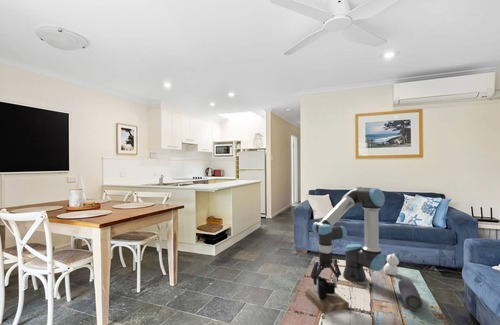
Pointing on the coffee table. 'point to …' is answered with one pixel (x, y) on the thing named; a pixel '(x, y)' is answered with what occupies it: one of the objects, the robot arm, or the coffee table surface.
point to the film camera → (325, 288)
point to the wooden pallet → (327, 301)
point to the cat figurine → (391, 265)
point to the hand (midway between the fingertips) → (326, 288)
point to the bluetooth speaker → (410, 294)
